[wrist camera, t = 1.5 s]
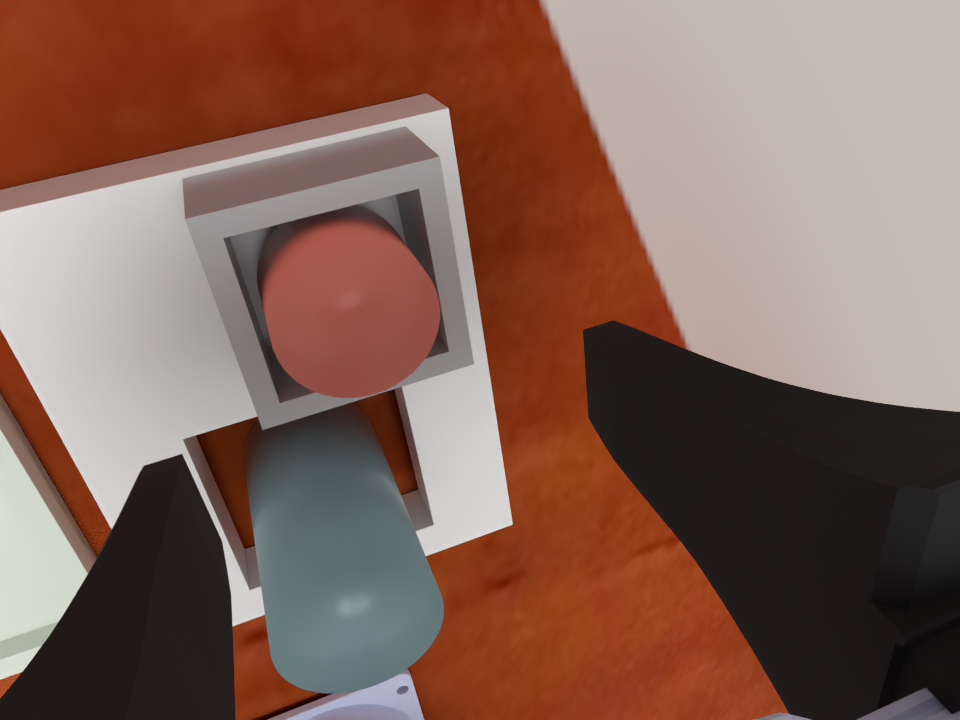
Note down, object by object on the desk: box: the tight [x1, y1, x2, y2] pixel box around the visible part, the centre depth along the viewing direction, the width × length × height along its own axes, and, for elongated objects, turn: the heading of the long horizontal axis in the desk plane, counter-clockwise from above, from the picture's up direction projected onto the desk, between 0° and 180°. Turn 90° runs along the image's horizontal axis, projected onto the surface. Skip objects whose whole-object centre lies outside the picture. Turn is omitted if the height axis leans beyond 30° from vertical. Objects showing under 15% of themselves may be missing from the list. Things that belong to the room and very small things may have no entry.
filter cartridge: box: [243, 402, 444, 693], centre depth 22 cm, size 4×4×8 cm
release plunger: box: [257, 205, 440, 398], centre depth 18 cm, size 4×4×3 cm
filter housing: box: [0, 93, 513, 626], centre depth 22 cm, size 15×12×5 cm
